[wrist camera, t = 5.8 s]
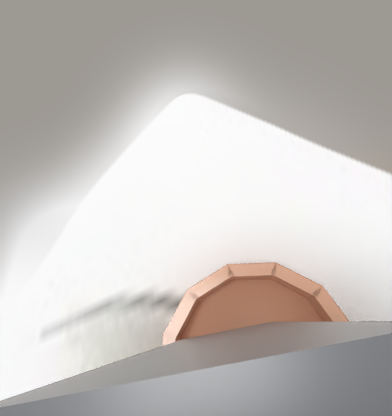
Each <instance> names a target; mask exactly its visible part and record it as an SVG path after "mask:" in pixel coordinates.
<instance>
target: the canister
mask: <svg viewBox="0 0 392 416" xmlns="http://www.w3.org/2000/svg"><path fill="white" fill-rule="evenodd" d="M0 416H392V321H364V322H269V323H264V324H258V325H253V326H248V327H243V328H238V329H233V330H228V331H222V332H217V333H212V334H207V335H202V336H197V337H191V338H186V339H182V340H179V341H176V342H173V343H170V344H167V345H164V346H161V347H158V348H155V349H152V350H149V351H146V352H143V353H140V354H137V355H134V356H132V357H129V358H126V359H123V360H120V361H117V362H114V363H111V364H108V365H105V366H102V367H99V368H96V369H93V370H90V371H87V372H84V373H82V374H79V375H76V376H73V377H70V378H67V379H64V380H61V381H58V382H55V383H52V384H49V385H46V386H43V387H40V388H37V389H34V390H32V391H29V392H26V393H23V394H20V395H17V396H14V397H11V398H8V399H5V400H2V401H0Z"/></svg>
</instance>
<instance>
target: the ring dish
mask: <svg viewBox="0 0 392 416" xmlns="http://www.w3.org/2000/svg"><path fill="white" fill-rule="evenodd" d="M269 322H349V320H348V319H347V318H346V316H345V315H344V314H343V312H342V311H341V310H340V308H339V307H338V306H337V304H336V303H335V302H334V300H333V299H332V298H331V296H330V295H329V294H328V293H327V291H326V290H325V289H324V287H323V286H322V285H320V284H318V283H316V282H314V281H312V280H310V279H308V278H306V277H304V276H302V275H300V274H298V273H296V272H294V271H292V270H290V269H288V268H286V267H284V266H282V265H280V264H277V263H250V264H227V265H226V266H224V267H222V268H221V269H219V270H218V271H216V272H215V273H213V274H211V275H210V276H208V277H207V278H205V279H203V280H202V281H200V282H199V283H197V284H196V285H194V286H192V287H191V288H189V289H188V290H187V291H186V293H185V295H184V297H183V299H182V300H181V302H180V304H179V306H178V308H177V310H176V311H175V313H174V315H173V317H172V319H171V321H170V323H169V324H168V326H167V328H166V330H165V332H164V334H163V346H164V345H167V344H170V343H173V342H176V341H179V340H182V339H186V338H191V337H197V336H202V335H207V334H212V333H217V332H222V331H228V330H233V329H238V328H243V327H248V326H253V325H258V324H264V323H269Z"/></svg>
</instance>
